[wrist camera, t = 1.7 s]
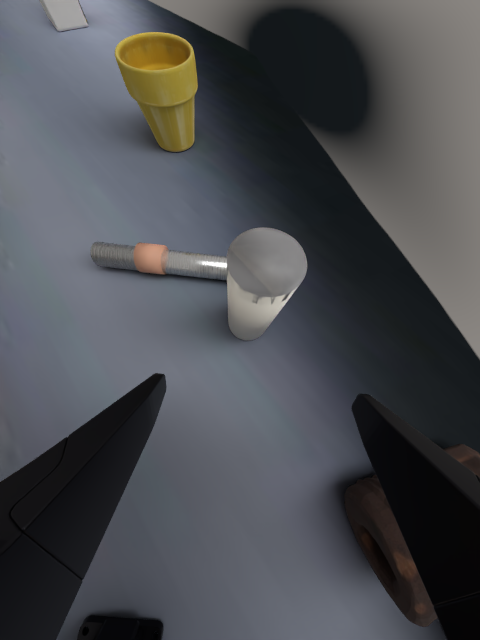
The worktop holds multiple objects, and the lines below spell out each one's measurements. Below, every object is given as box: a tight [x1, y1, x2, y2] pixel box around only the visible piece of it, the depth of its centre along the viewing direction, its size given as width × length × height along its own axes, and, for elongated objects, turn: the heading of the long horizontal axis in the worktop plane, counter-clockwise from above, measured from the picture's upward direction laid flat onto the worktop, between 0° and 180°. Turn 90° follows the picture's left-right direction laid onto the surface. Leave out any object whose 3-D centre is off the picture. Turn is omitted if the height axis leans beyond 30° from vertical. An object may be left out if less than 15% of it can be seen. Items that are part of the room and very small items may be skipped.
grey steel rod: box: [91, 242, 227, 280], centre depth 24 cm, size 4×26×4 cm, turn 84°
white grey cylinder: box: [227, 228, 307, 341], centre depth 18 cm, size 5×5×13 cm
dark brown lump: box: [344, 444, 480, 627], centre depth 15 cm, size 10×15×15 cm
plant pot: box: [115, 32, 198, 152], centre depth 29 cm, size 10×10×10 cm
